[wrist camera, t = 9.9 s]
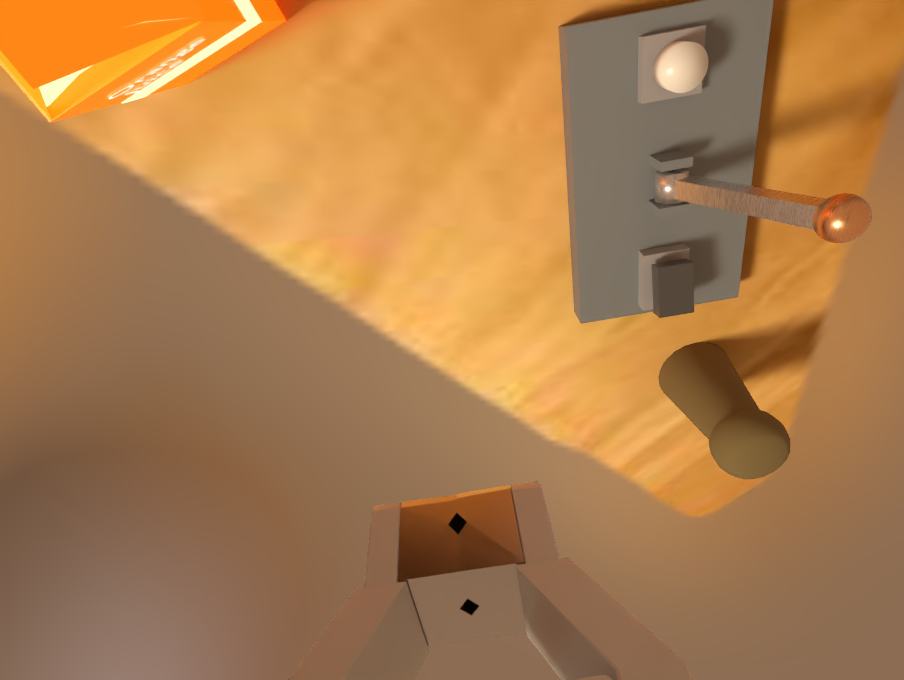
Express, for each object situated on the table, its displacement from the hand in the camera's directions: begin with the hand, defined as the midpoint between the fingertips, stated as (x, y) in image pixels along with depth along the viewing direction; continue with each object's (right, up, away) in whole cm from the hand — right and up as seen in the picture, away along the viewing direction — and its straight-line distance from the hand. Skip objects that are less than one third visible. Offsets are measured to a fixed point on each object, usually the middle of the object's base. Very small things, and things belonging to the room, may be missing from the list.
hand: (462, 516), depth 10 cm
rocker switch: (+15, +7, +28) cm, 33 cm away
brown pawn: (+21, +1, +37) cm, 43 cm away
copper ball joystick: (+14, +13, +25) cm, 32 cm away
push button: (+13, +19, +22) cm, 32 cm away
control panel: (+14, +15, +28) cm, 35 cm away
